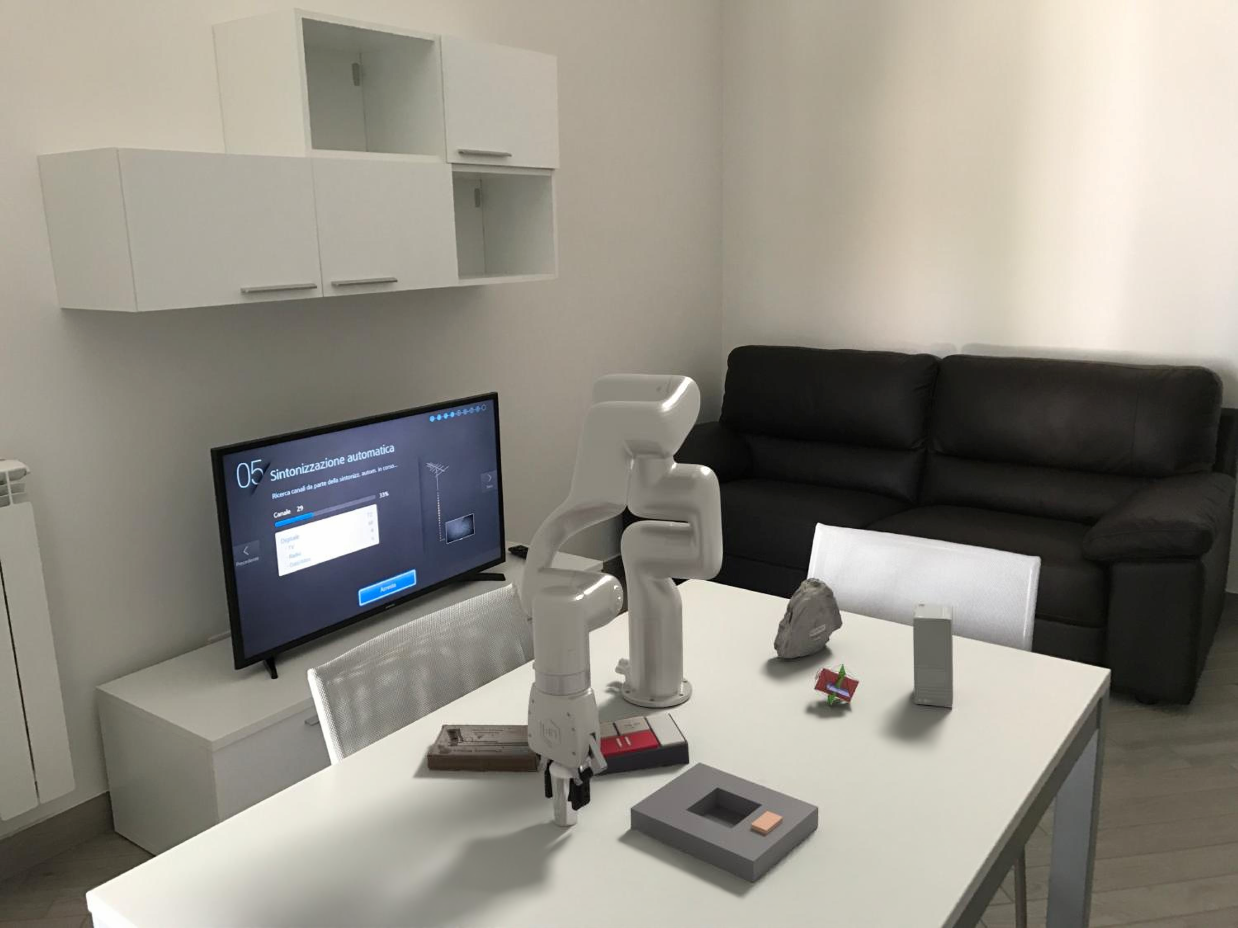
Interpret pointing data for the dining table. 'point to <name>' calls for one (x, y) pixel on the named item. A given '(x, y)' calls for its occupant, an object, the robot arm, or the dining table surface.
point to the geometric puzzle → (835, 684)
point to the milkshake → (562, 794)
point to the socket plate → (725, 820)
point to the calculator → (642, 744)
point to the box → (483, 749)
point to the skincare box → (933, 654)
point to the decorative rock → (808, 620)
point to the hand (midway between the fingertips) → (567, 798)
